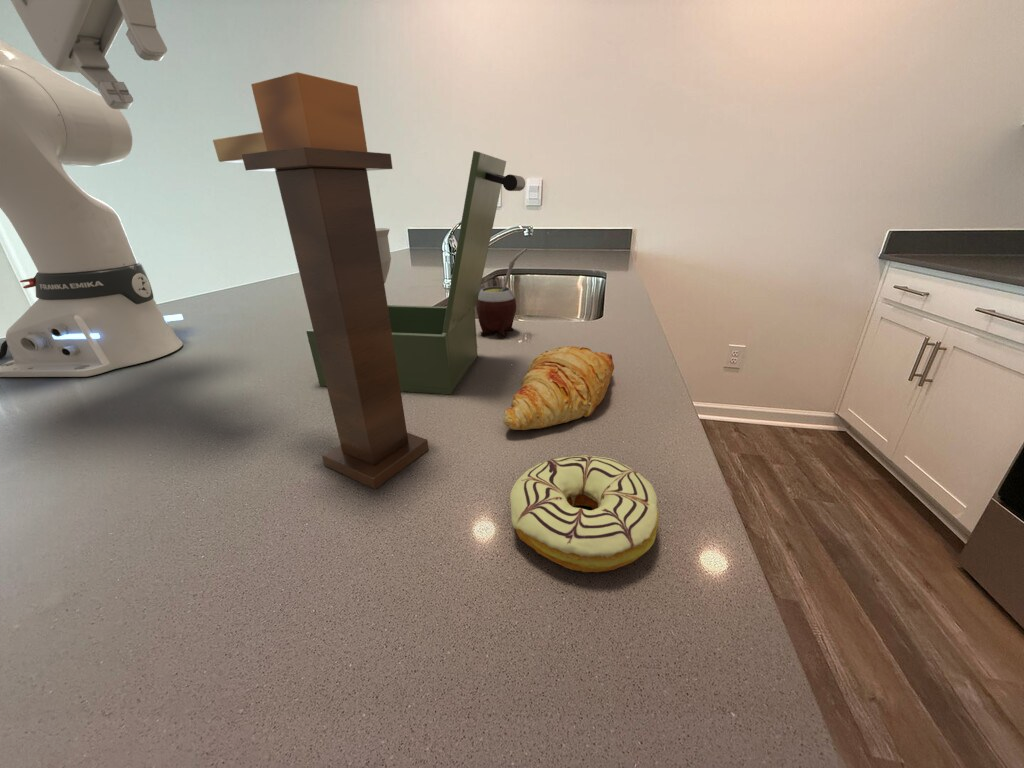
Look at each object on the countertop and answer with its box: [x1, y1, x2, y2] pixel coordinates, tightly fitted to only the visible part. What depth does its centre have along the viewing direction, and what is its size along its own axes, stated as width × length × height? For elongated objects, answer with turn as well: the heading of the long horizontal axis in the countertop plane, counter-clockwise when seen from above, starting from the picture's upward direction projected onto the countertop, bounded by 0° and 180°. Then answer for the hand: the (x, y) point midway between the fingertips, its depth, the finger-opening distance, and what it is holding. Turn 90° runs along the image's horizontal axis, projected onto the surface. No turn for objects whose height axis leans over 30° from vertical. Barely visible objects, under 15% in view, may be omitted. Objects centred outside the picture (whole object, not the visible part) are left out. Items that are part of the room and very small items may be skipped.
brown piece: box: [212, 71, 368, 164], centre depth 30 cm, size 14×4×4 cm, turn 59°
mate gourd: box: [475, 247, 528, 339], centre depth 71 cm, size 8×8×15 cm
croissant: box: [503, 345, 615, 431], centre depth 48 cm, size 21×10×8 cm, turn 141°
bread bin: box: [306, 304, 478, 395], centre depth 58 cm, size 19×14×8 cm
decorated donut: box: [509, 454, 660, 574], centre depth 30 cm, size 10×11×4 cm
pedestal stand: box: [242, 147, 430, 490], centre depth 34 cm, size 7×7×26 cm
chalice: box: [376, 227, 392, 284], centre depth 72 cm, size 7×7×18 cm
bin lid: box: [443, 150, 526, 334], centre depth 50 cm, size 19×14×4 cm
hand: (137, 83), depth 36 cm, fingers open, 8 cm apart
